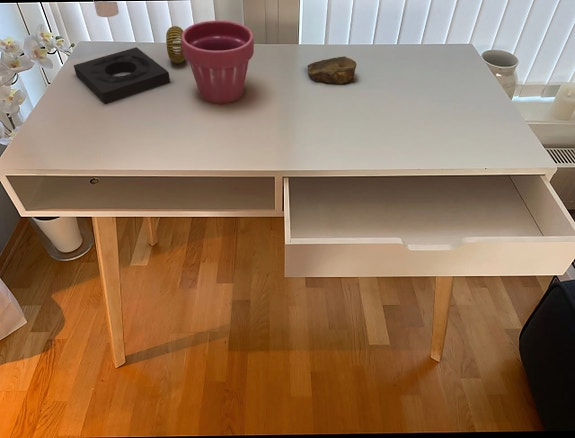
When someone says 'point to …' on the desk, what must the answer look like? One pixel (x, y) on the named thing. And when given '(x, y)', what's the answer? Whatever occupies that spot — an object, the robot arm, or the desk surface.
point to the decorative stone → (333, 70)
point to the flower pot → (218, 58)
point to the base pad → (119, 87)
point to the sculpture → (174, 44)
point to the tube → (106, 9)
